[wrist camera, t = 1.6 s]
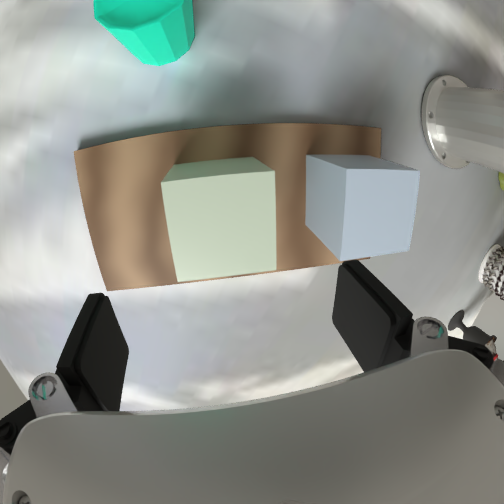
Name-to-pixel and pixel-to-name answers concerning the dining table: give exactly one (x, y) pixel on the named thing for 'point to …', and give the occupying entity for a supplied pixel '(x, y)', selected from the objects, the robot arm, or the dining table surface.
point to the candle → (149, 27)
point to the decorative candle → (493, 270)
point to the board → (195, 150)
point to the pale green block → (221, 217)
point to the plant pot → (501, 180)
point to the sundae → (473, 333)
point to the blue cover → (360, 204)
